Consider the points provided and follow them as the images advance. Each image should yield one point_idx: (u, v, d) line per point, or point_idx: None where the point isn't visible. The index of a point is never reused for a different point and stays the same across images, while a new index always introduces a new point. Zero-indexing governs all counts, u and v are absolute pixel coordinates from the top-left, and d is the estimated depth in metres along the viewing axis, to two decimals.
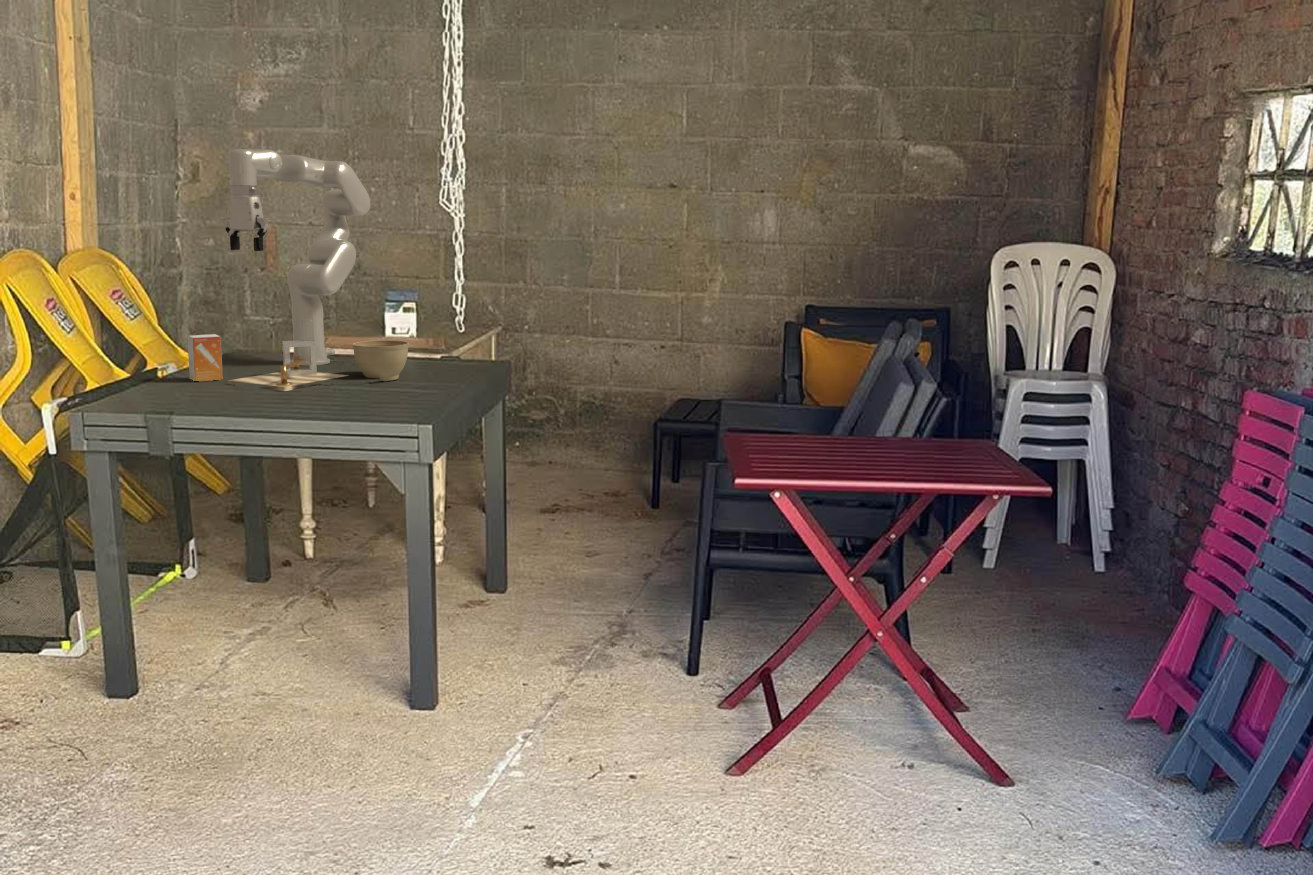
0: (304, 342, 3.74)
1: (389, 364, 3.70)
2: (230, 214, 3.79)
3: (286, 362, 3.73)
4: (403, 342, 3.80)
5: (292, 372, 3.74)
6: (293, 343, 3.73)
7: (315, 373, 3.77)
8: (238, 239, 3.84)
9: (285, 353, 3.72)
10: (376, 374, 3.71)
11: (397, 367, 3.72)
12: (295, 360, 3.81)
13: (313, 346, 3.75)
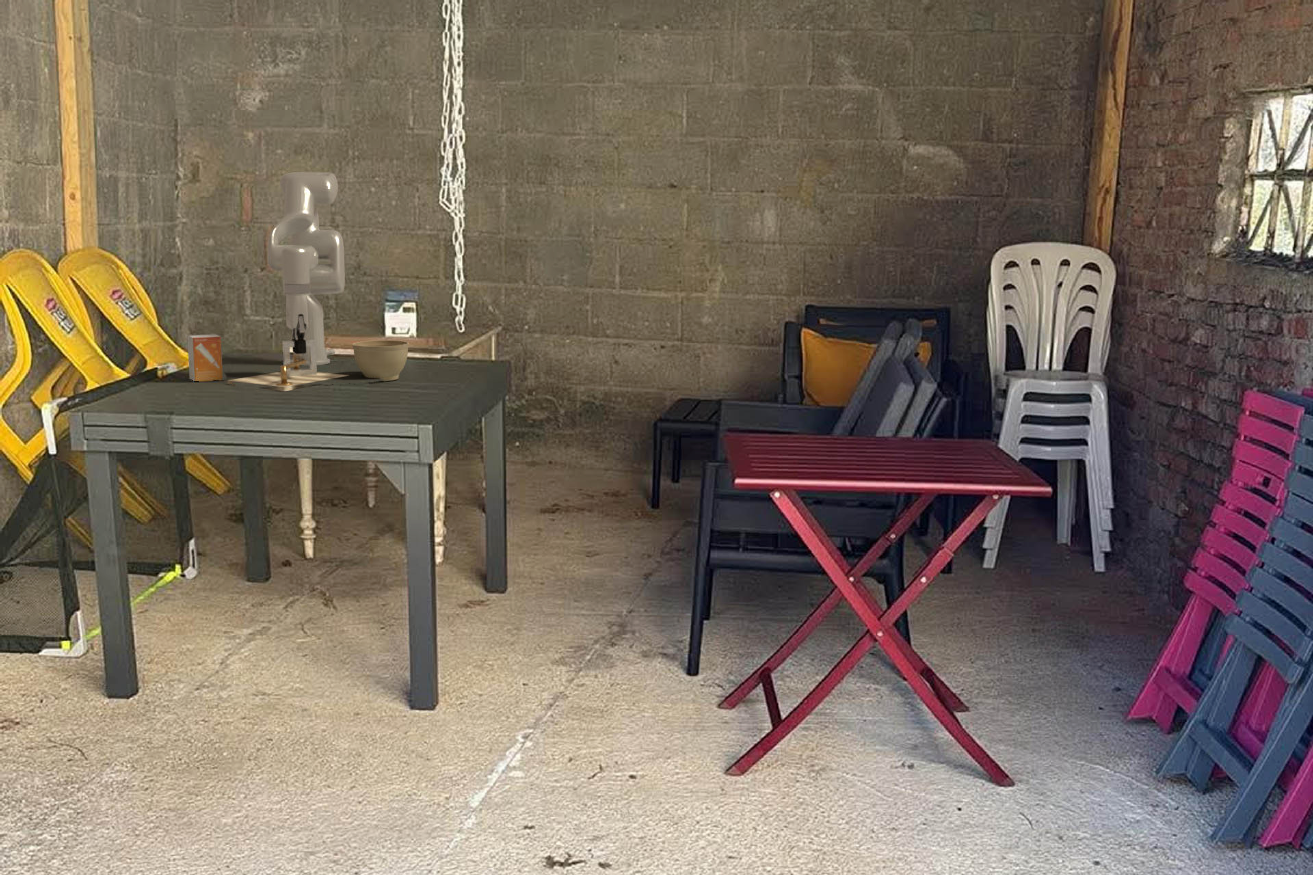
0: None
1: (389, 364, 3.70)
2: (307, 313, 3.71)
3: (286, 362, 3.73)
4: (403, 342, 3.80)
5: (292, 372, 3.74)
6: (293, 343, 3.73)
7: (315, 373, 3.77)
8: None
9: (285, 353, 3.72)
10: (376, 374, 3.71)
11: (397, 367, 3.72)
12: (295, 360, 3.81)
13: (313, 346, 3.75)
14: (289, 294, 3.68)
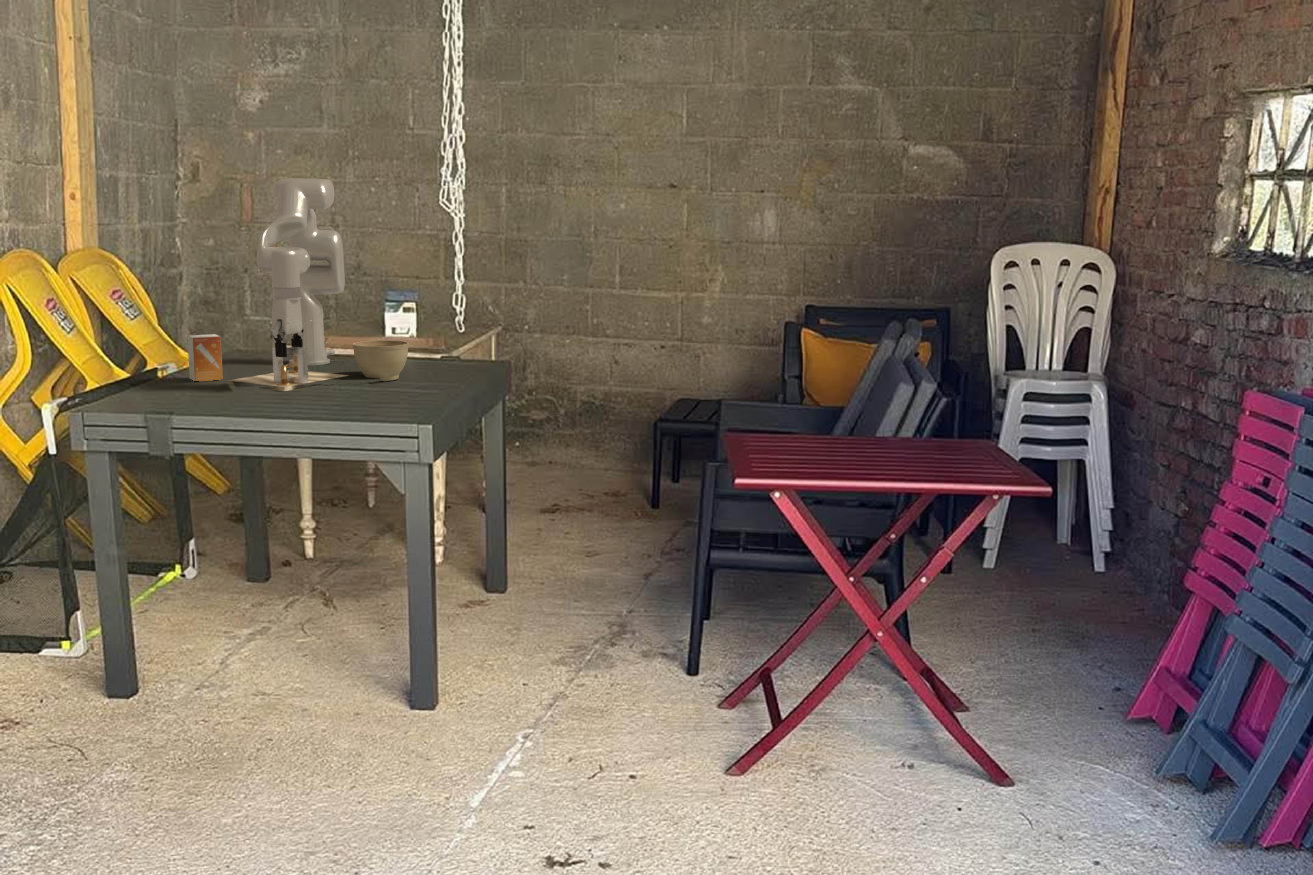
0: (291, 349, 3.58)
1: (389, 364, 3.70)
2: (288, 318, 3.54)
3: (274, 368, 3.60)
4: (403, 342, 3.80)
5: (280, 379, 3.61)
6: None
7: (302, 382, 3.60)
8: None
9: (273, 359, 3.60)
10: (376, 374, 3.71)
11: (397, 367, 3.72)
12: (295, 360, 3.81)
13: (300, 354, 3.58)
14: (273, 298, 3.55)
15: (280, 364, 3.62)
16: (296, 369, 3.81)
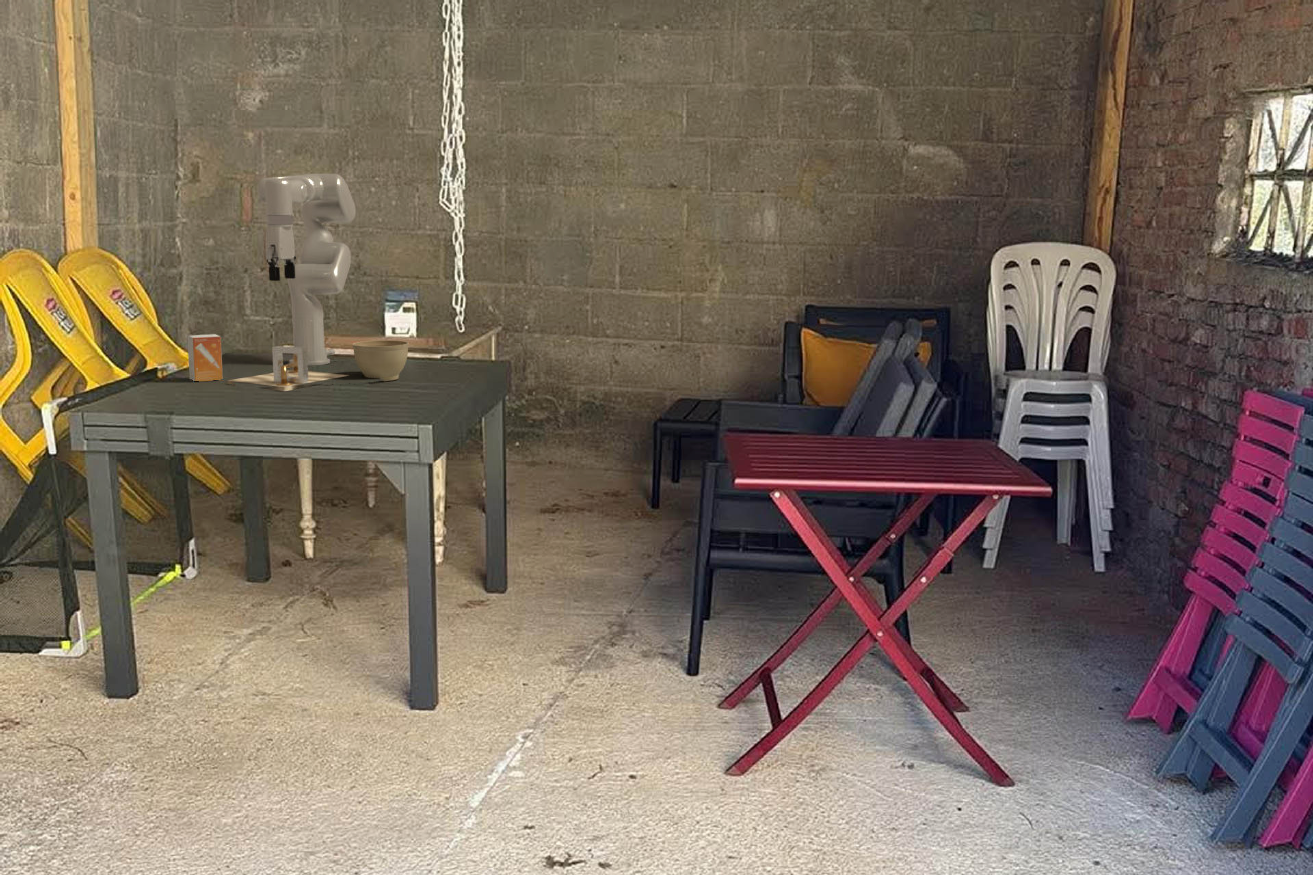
0: (291, 349, 3.58)
1: (389, 364, 3.70)
2: (281, 244, 3.76)
3: (274, 368, 3.60)
4: (403, 342, 3.80)
5: (280, 379, 3.61)
6: (281, 349, 3.59)
7: (302, 382, 3.60)
8: None
9: (273, 359, 3.60)
10: (376, 374, 3.71)
11: (397, 367, 3.72)
12: (295, 360, 3.81)
13: (300, 354, 3.58)
14: (267, 225, 3.76)
15: (280, 364, 3.62)
16: (296, 369, 3.81)
